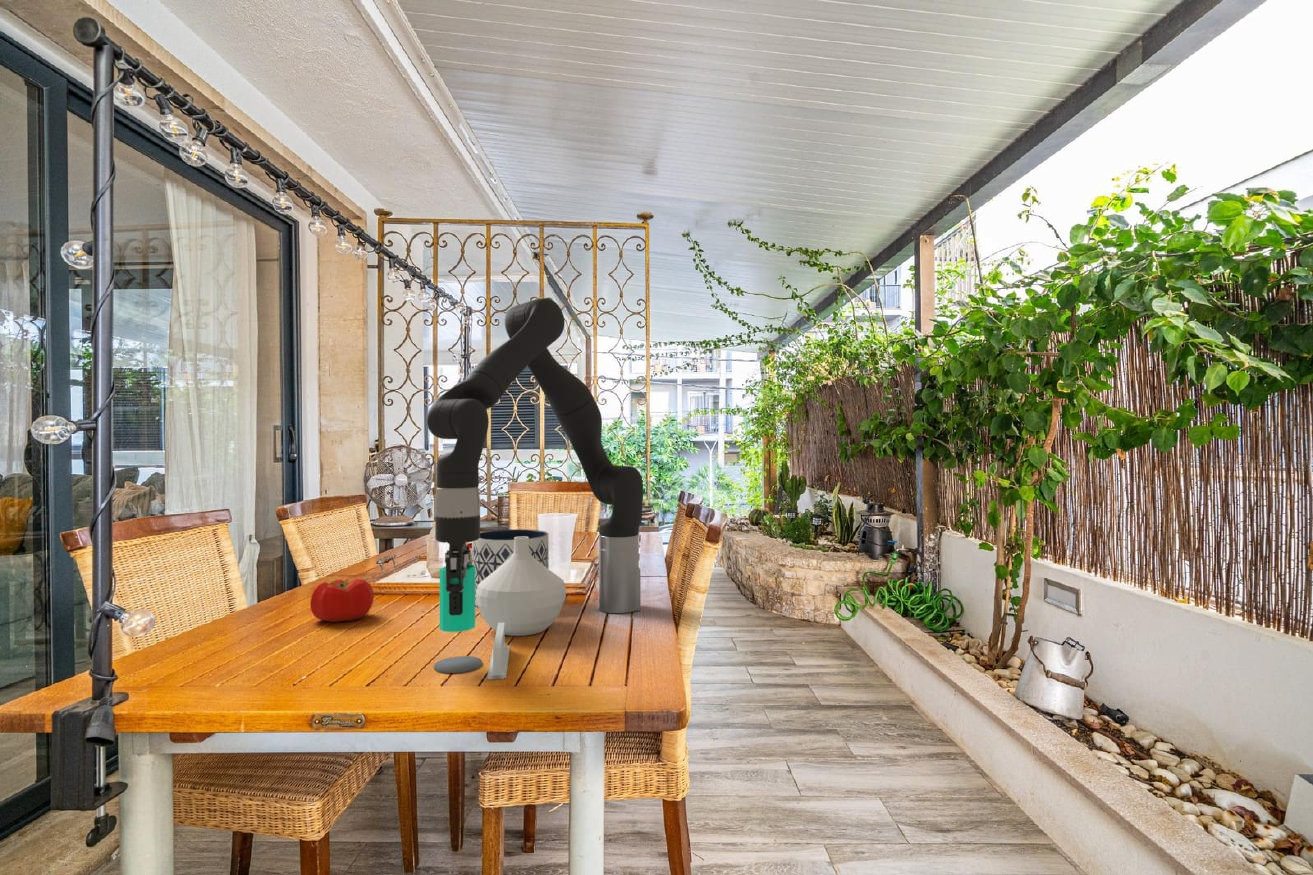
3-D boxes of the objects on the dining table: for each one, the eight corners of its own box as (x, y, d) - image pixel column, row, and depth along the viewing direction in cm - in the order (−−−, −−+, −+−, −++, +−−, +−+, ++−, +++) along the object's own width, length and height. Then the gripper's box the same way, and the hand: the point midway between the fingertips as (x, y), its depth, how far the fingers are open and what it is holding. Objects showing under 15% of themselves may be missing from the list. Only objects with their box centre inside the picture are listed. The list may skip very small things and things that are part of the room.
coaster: (483, 657, 123) (483, 654, 123) (480, 672, 115) (480, 669, 115) (437, 659, 122) (437, 657, 122) (430, 675, 114) (430, 672, 114)
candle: (480, 623, 121) (480, 555, 121) (467, 632, 115) (467, 561, 115) (447, 622, 121) (448, 555, 121) (433, 631, 115) (433, 561, 115)
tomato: (377, 610, 157) (377, 573, 157) (369, 624, 145) (369, 584, 145) (317, 614, 154) (317, 576, 154) (304, 628, 142) (304, 588, 142)
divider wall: (509, 648, 128) (509, 622, 128) (506, 678, 112) (506, 648, 112) (493, 649, 127) (493, 623, 127) (487, 679, 111) (487, 649, 111)
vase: (457, 637, 135) (457, 541, 135) (507, 614, 153) (507, 529, 153) (537, 646, 129) (537, 546, 129) (581, 622, 146) (580, 533, 146)
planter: (513, 590, 178) (513, 527, 178) (564, 599, 167) (563, 533, 167) (456, 604, 163) (456, 535, 163) (507, 615, 152) (507, 542, 152)
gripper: (476, 517, 112) (476, 620, 112) (483, 508, 126) (483, 599, 126) (429, 518, 111) (429, 622, 111) (441, 509, 125) (441, 601, 125)
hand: (457, 609), depth 118 cm, fingers closed on candle, 5 cm apart
